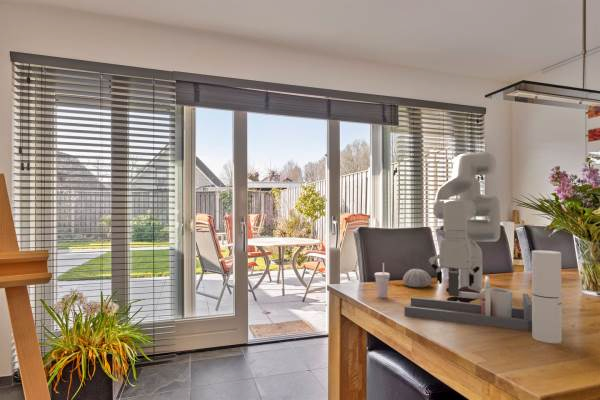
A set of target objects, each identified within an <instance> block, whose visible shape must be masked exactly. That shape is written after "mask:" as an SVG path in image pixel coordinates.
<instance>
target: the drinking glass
mask: <svg viewBox="0 0 600 400" xmlns="http://www.w3.org/2000/svg"><path fill="white" fill-rule="evenodd" d="M490 293H491V316H500V317H509V318H512V317H511V312H512V307H513V293H514V292H513V291H512V290H511V289H507V288H498V287H497V288H496V287H495V288H493V287H492V288H490Z"/></svg>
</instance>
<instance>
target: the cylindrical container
mask: <svg viewBox="0 0 600 400" xmlns="http://www.w3.org/2000/svg"><path fill="white" fill-rule="evenodd" d="M562 293H563V292H562V252H560V251H555V250H546V249H545V250H543V249H540V250H539V249H537V250H535V249H534V250H533V249H532V251H531V301H532V331H531V337H532V338H533V339H534V340H536V341H538V342H542V343H547V344H561V343H562V342H563V339H562V338H563V335H562V333H563V332H562V331H563V329H562V328H563V327H562V326H563V325H562V323H563V322H562V321H563V318H562V317H563V315H562V314H563V313H562V311H563V310H562V303H563V301H562V299H563V298H562V296H563V295H562Z"/></svg>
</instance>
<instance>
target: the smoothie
mask: <svg viewBox="0 0 600 400" xmlns="http://www.w3.org/2000/svg"><path fill="white" fill-rule="evenodd" d="M390 277H391V274H390V272H385V262H382V271H381V272H380V271H379V272H375V273H374V279H375V284H376V293H377V297H378V298H380V299H381V298H382V299H387V297H388V290H389V289H388V288H389V282H390Z"/></svg>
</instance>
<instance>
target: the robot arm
mask: <svg viewBox="0 0 600 400" xmlns="http://www.w3.org/2000/svg"><path fill="white" fill-rule="evenodd" d="M451 168H452V170H451V171H452V172H451V175H450V176H451V177H450V179H449V180H447V181H446V182H445V183H443V184H442V185H441V186H440V187H439V188H438V189H437V191H436V192H435V193H436V194H435V197H434V200H433V201H434V202H433V210H432V211H433V215H434V216H435V218H437V219H439V220H443V221H442V222H443V225H442V226H443V230H441V231H440V230H439V231H438V235H439V236H442V237H443V238H441V239H440V244H439V252H438V253H439V254H436V255H434V256H432V257H430V258H429V259H428V261H429V264H430V266H431V267H432V268H433V269H434V270H435V272H436V280H437V281H439V282H438V284H439V285H440V284H441V285H442V282H443V271H442V269H444V268H445V269H457V270H458V279H459V288H461V287H464V286H468V288H469V289H472V290H476V291H479V292H480V291H481V290H482V289H485V286H483V250H482V249H481V247H480V246H479V245H478V244H477V242H486V243H487V242H488V243H489V242H497V241H498V242H499V239H500V238H501V207H500V206H501V205H500V200H499V197H497V195H493V194H482V193H481V182H480V181H479V180H478V178H477V177H476V176H482V175H483V176H485V175H486V176H487V175H493V174H494V173H495V171H496V169H497V160H496V158H495V156H494V154H492V153H490V152H485V151H483V152H481V151H480V152H470V153H469V152H467V153H461V154H458V155H457V156H456V157H454V158H452V160H451ZM457 195H459V198H458V199H457V198H451V197H455V196H457ZM474 217H481V218H482V217H486V218H488V219H478V218H476V219H473V218H474ZM436 260H438V262H439V263H438V264H439V266H438V265H437V264H436V263H435V261H436Z"/></svg>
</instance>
